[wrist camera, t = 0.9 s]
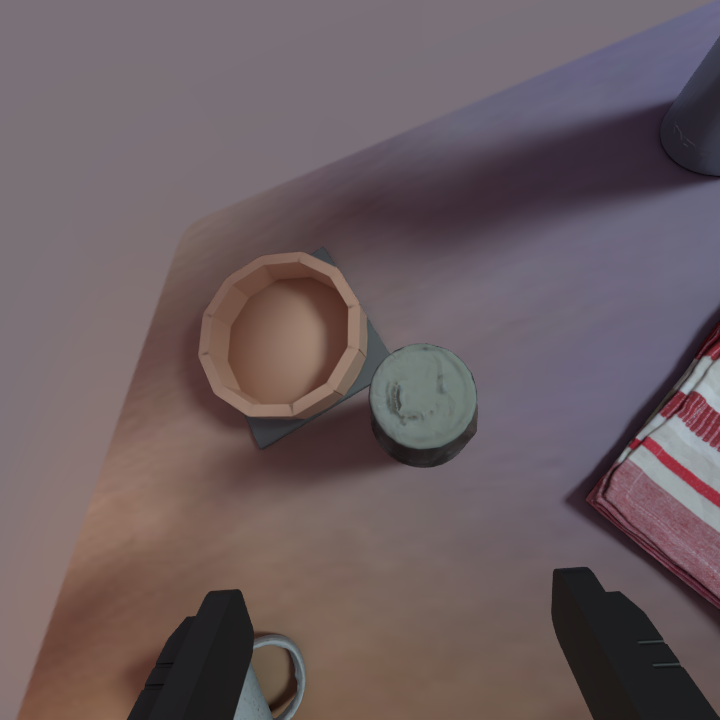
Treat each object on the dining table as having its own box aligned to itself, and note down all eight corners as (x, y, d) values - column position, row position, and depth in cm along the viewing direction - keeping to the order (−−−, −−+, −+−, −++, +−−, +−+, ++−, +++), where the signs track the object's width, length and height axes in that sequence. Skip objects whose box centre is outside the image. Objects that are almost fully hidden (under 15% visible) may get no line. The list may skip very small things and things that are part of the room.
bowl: (323, 246, 38) (311, 223, 34) (397, 366, 34) (392, 356, 30) (203, 322, 39) (178, 308, 35) (260, 449, 34) (237, 449, 31)
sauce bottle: (377, 439, 33) (296, 431, 14) (405, 376, 34) (364, 288, 15) (446, 472, 31) (460, 514, 12) (474, 405, 32) (527, 347, 13)
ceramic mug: (224, 773, 30) (156, 880, 22) (182, 669, 32) (108, 735, 25) (330, 698, 29) (297, 780, 22) (280, 599, 32) (235, 644, 25)
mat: (325, 249, 39) (323, 246, 38) (398, 368, 34) (397, 366, 34) (206, 323, 39) (203, 322, 39) (262, 449, 35) (260, 449, 34)
